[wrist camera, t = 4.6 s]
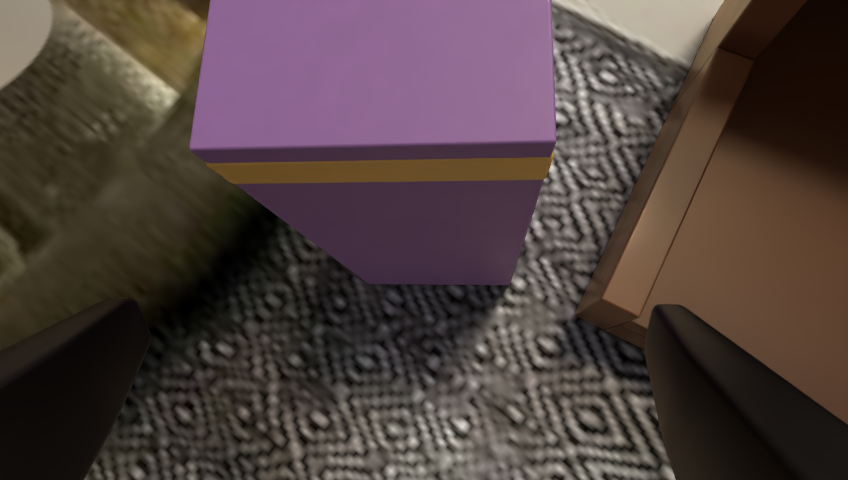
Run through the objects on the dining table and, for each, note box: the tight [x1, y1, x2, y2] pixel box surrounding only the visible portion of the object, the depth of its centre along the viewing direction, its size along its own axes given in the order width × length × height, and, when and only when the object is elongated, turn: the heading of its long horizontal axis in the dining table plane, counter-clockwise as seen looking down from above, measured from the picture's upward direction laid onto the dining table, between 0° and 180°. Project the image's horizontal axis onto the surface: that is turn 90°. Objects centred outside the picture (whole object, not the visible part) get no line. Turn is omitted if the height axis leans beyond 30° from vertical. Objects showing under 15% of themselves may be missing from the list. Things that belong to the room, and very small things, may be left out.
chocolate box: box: [189, 0, 556, 285], centre depth 14 cm, size 4×6×13 cm
